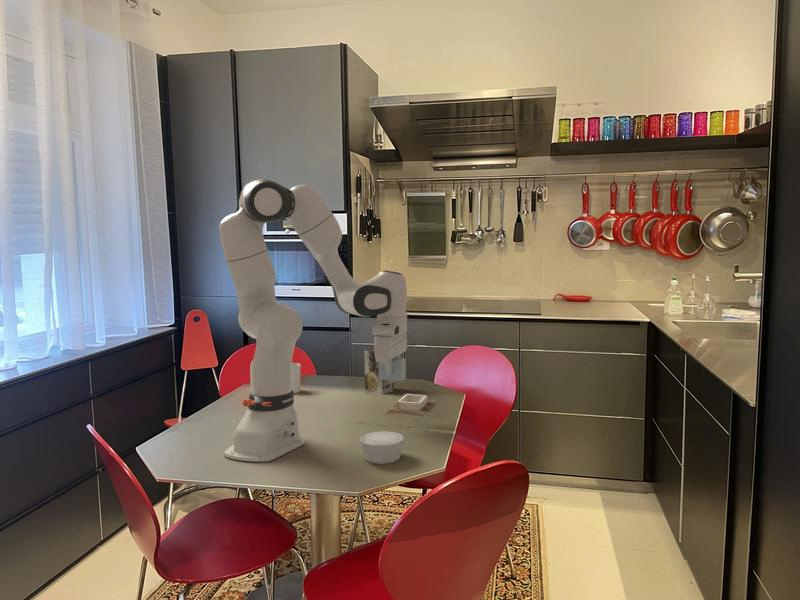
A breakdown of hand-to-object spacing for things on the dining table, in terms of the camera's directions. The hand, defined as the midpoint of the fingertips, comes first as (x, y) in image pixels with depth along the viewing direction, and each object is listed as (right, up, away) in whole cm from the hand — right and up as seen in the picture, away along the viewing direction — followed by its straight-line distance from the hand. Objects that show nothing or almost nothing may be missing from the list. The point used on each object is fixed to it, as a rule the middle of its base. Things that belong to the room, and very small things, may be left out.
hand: (392, 371), depth 176 cm
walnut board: (+6, -15, +17) cm, 23 cm away
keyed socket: (+6, -13, +19) cm, 24 cm away
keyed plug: (0, -2, 0) cm, 2 cm away
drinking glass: (-37, -13, +42) cm, 58 cm away
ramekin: (-2, -20, -23) cm, 31 cm away
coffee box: (-5, -13, +39) cm, 41 cm away
